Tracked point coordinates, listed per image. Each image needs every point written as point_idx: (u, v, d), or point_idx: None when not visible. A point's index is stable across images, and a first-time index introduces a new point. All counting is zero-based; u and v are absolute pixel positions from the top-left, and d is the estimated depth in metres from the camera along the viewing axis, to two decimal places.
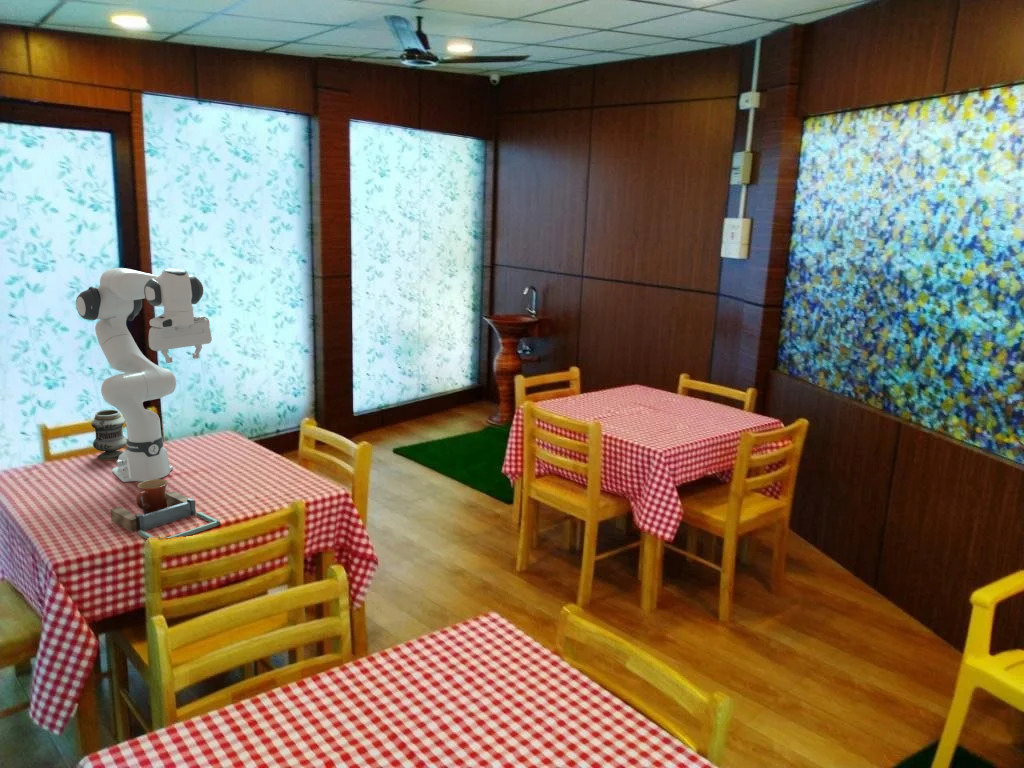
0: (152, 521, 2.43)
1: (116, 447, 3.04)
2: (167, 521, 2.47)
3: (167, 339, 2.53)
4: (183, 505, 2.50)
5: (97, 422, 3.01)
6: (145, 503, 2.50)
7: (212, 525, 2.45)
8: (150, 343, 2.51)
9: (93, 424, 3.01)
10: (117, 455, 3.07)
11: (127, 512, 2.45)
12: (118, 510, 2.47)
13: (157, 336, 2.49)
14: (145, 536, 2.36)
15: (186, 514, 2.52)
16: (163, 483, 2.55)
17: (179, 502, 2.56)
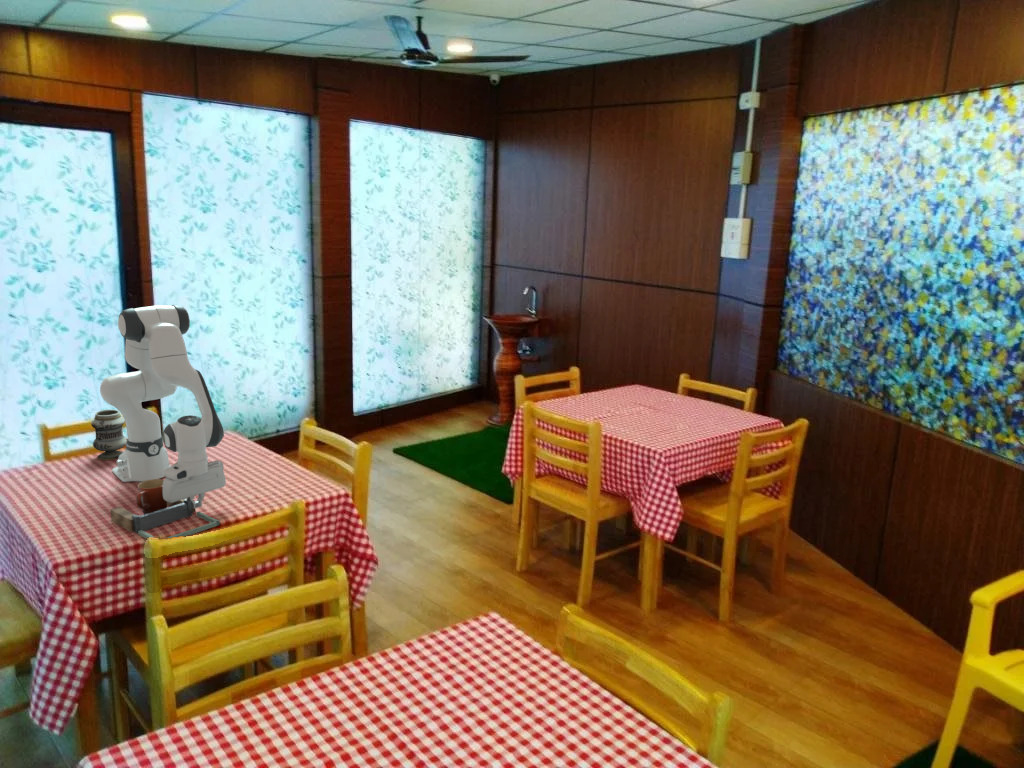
0: (148, 522, 2.42)
1: (116, 447, 3.04)
2: (164, 522, 2.46)
3: (181, 490, 2.48)
4: (180, 506, 2.50)
5: (97, 422, 3.01)
6: (145, 503, 2.50)
7: (212, 525, 2.45)
8: (164, 495, 2.46)
9: (93, 424, 3.01)
10: (117, 455, 3.07)
11: (127, 512, 2.45)
12: (118, 510, 2.47)
13: (172, 488, 2.45)
14: (145, 536, 2.36)
15: (183, 515, 2.51)
16: None
17: (179, 502, 2.56)
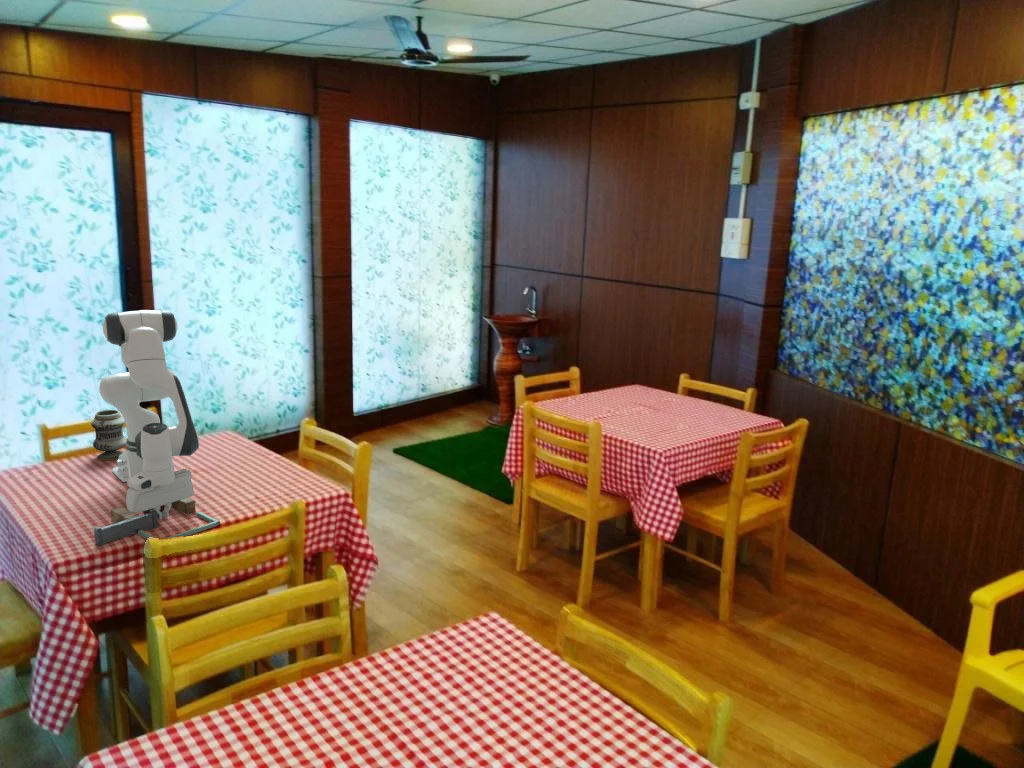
0: (111, 534, 2.33)
1: (116, 447, 3.04)
2: (128, 534, 2.37)
3: (146, 500, 2.39)
4: (145, 517, 2.41)
5: (97, 422, 3.01)
6: None
7: (212, 525, 2.45)
8: (128, 505, 2.37)
9: (93, 424, 3.01)
10: (117, 455, 3.07)
11: (127, 512, 2.45)
12: (118, 510, 2.47)
13: (135, 498, 2.36)
14: (145, 536, 2.36)
15: (148, 526, 2.42)
16: None
17: (179, 502, 2.56)
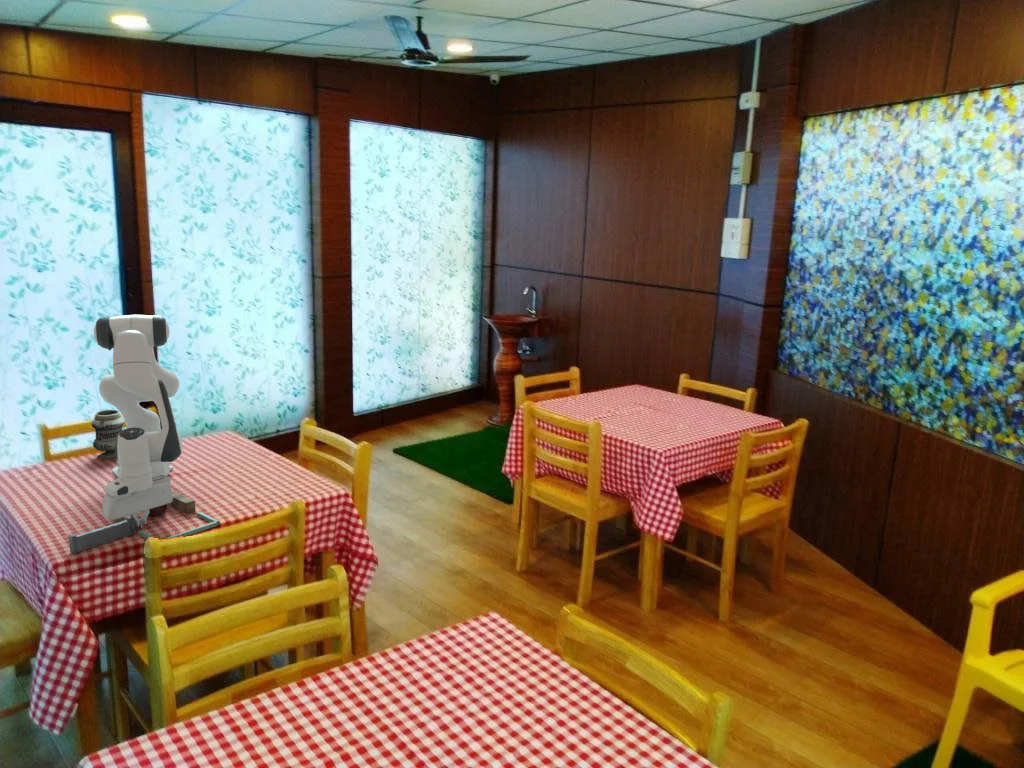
0: (87, 542, 2.28)
1: None
2: (104, 541, 2.32)
3: (123, 507, 2.34)
4: (122, 524, 2.36)
5: (97, 422, 3.01)
6: None
7: (212, 525, 2.45)
8: (104, 512, 2.32)
9: (93, 424, 3.01)
10: None
11: None
12: None
13: (112, 505, 2.30)
14: (145, 536, 2.36)
15: (125, 533, 2.37)
16: None
17: (179, 502, 2.56)
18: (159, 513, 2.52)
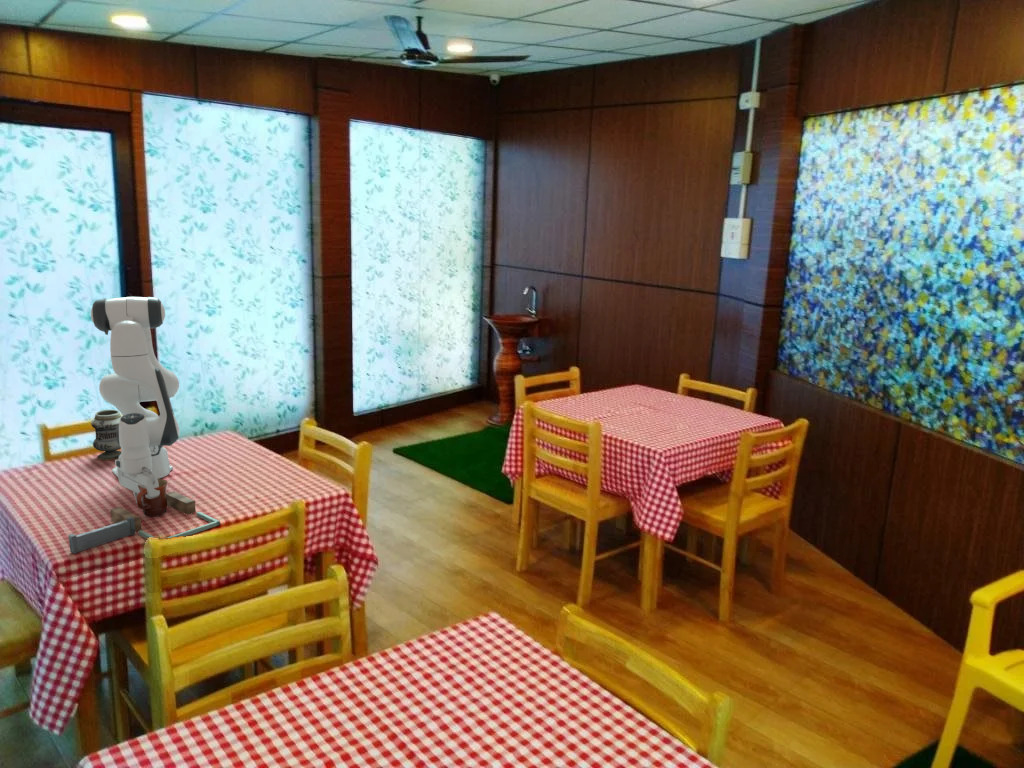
0: (87, 542, 2.28)
1: (116, 447, 3.04)
2: (104, 541, 2.32)
3: (124, 479, 2.57)
4: (122, 524, 2.36)
5: (97, 422, 3.01)
6: (145, 503, 2.50)
7: (212, 525, 2.45)
8: None
9: (93, 424, 3.01)
10: (117, 455, 3.07)
11: (127, 512, 2.45)
12: (118, 510, 2.47)
13: (117, 472, 2.58)
14: (145, 536, 2.36)
15: (125, 533, 2.37)
16: (163, 483, 2.55)
17: (179, 502, 2.56)
18: (159, 513, 2.52)
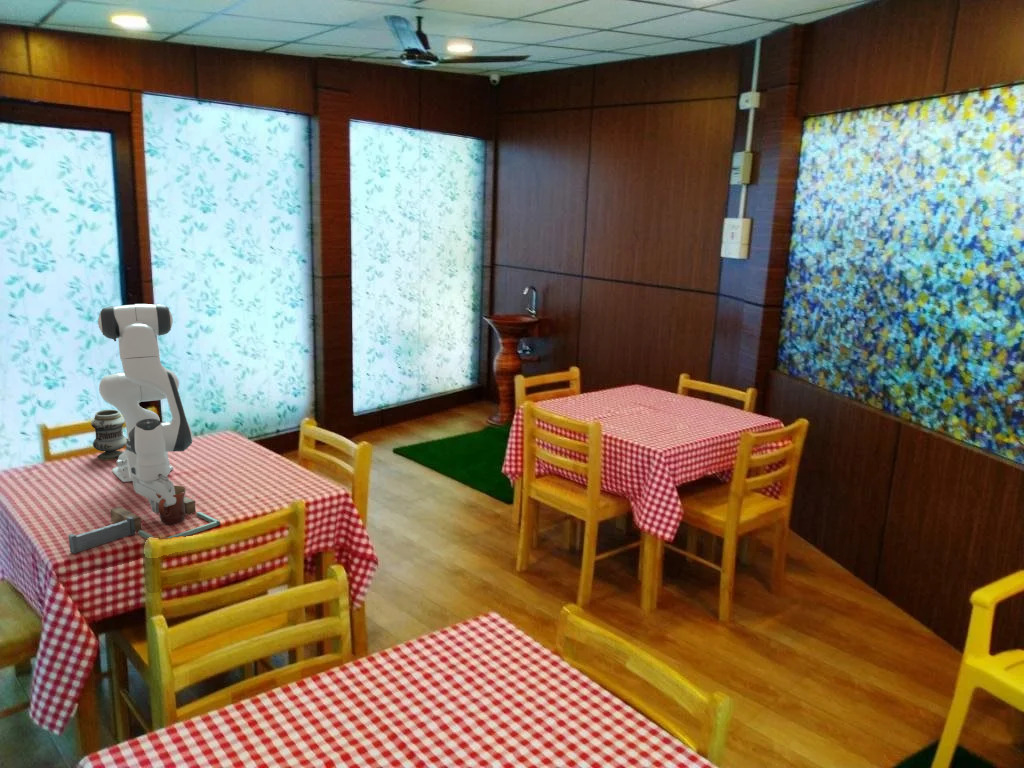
0: (87, 542, 2.28)
1: (116, 447, 3.04)
2: (104, 541, 2.32)
3: (140, 486, 2.51)
4: (122, 524, 2.36)
5: (97, 422, 3.01)
6: (165, 511, 2.44)
7: (212, 525, 2.45)
8: None
9: (93, 424, 3.01)
10: (117, 455, 3.07)
11: (127, 512, 2.45)
12: (118, 510, 2.47)
13: (132, 479, 2.52)
14: (145, 536, 2.36)
15: (125, 533, 2.37)
16: (180, 489, 2.50)
17: None
18: (179, 520, 2.47)
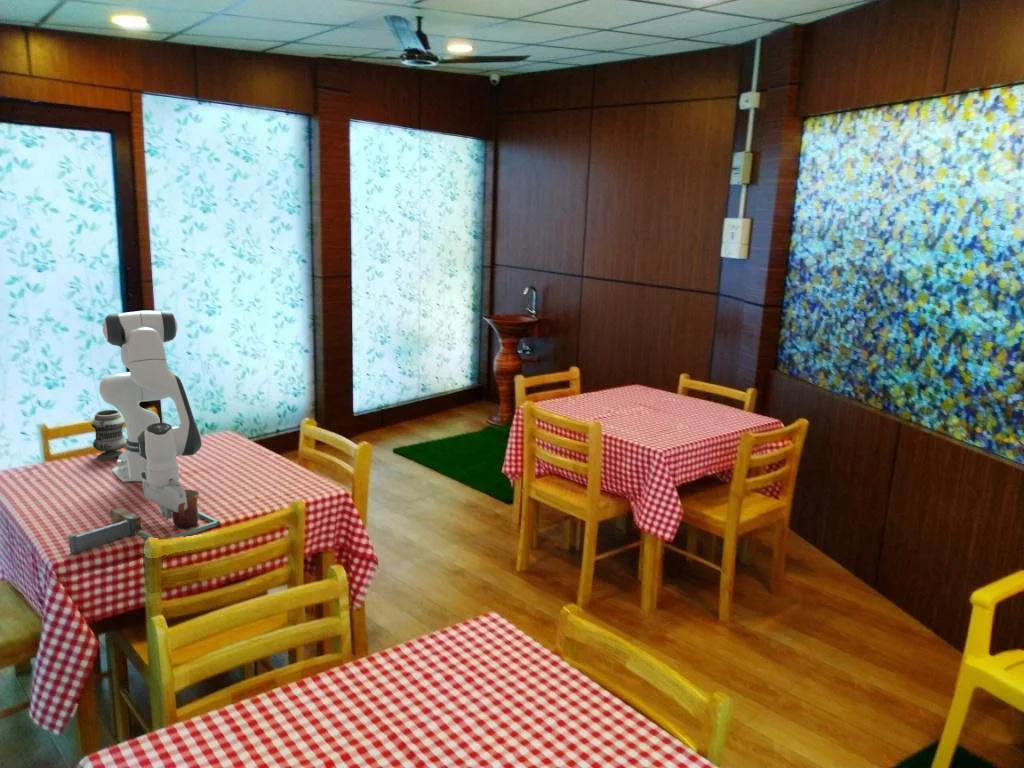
0: (87, 542, 2.28)
1: (116, 447, 3.04)
2: (104, 541, 2.32)
3: (150, 491, 2.47)
4: (122, 524, 2.36)
5: (97, 422, 3.01)
6: None
7: (212, 525, 2.45)
8: None
9: (93, 424, 3.01)
10: (117, 455, 3.07)
11: (127, 512, 2.45)
12: (118, 510, 2.47)
13: None
14: (145, 536, 2.36)
15: (125, 533, 2.37)
16: (190, 493, 2.47)
17: None
18: (195, 523, 2.45)
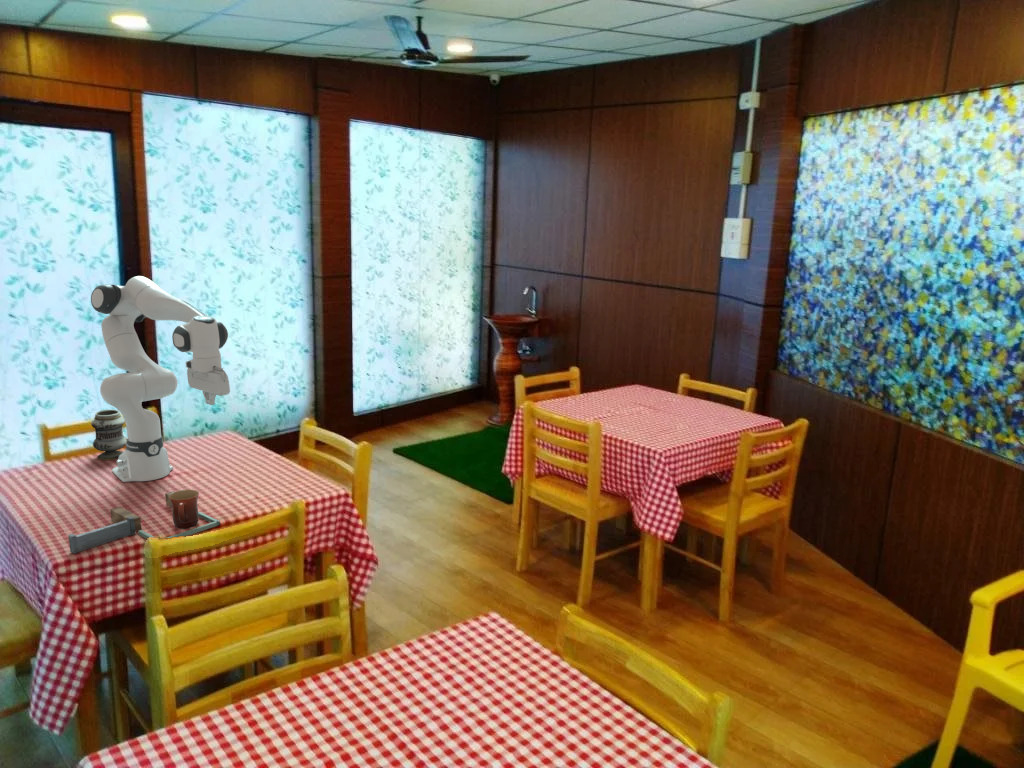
0: (87, 542, 2.28)
1: (116, 447, 3.04)
2: (104, 541, 2.32)
3: (194, 380, 2.69)
4: (122, 524, 2.36)
5: (97, 422, 3.01)
6: None
7: (212, 525, 2.45)
8: None
9: (93, 424, 3.01)
10: (117, 455, 3.07)
11: (127, 512, 2.45)
12: (118, 510, 2.47)
13: (187, 374, 2.70)
14: (145, 536, 2.36)
15: (125, 533, 2.37)
16: (190, 493, 2.48)
17: None
18: (195, 523, 2.45)
